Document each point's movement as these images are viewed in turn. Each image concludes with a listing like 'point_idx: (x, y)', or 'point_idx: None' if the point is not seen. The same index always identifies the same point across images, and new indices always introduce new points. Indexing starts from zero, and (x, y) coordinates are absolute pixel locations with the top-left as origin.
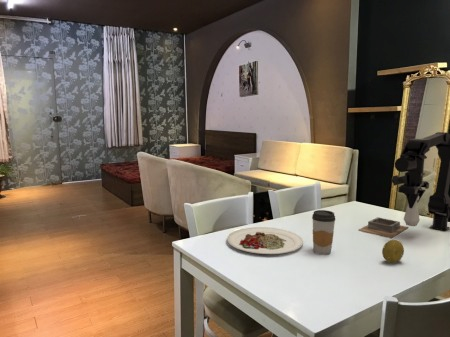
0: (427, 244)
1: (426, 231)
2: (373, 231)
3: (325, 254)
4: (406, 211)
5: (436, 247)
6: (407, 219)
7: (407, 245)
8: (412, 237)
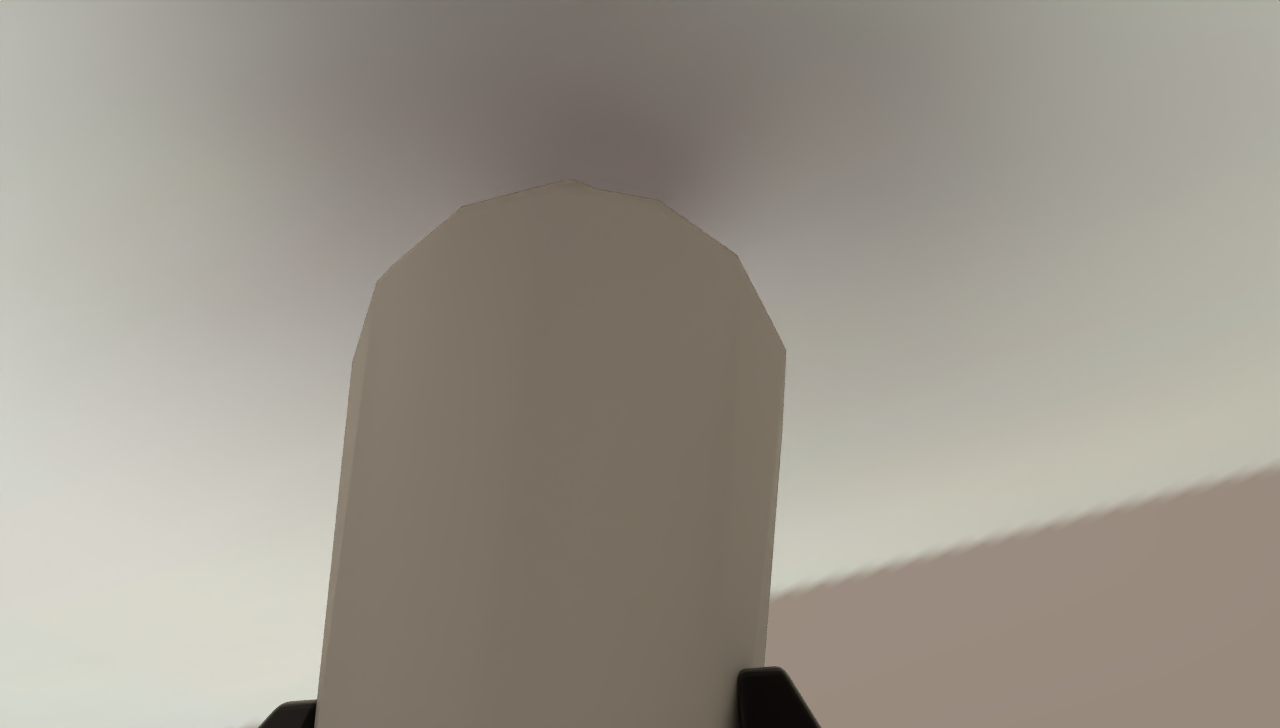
0: None
1: (1258, 214)
2: None
3: None
4: (354, 465)
5: None
6: (351, 386)
7: (128, 338)
8: None
